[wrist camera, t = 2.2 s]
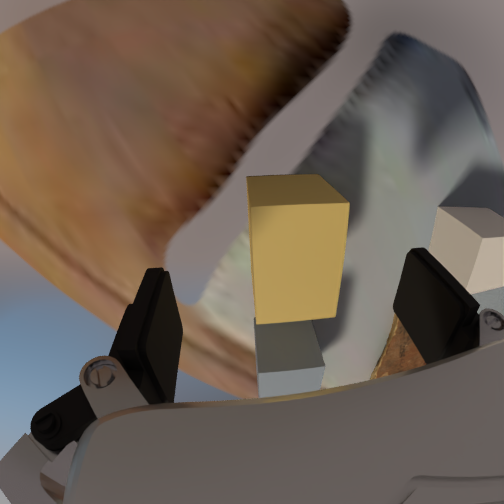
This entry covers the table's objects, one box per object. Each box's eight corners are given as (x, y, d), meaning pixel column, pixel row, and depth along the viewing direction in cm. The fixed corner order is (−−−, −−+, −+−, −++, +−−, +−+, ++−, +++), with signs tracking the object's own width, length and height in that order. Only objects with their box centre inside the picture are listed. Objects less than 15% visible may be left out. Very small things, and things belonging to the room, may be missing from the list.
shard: (396, 290, 20) (406, 304, 19) (462, 283, 21) (472, 294, 19) (364, 376, 26) (369, 389, 24) (423, 363, 26) (429, 375, 24)
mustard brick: (246, 176, 15) (250, 206, 11) (317, 173, 15) (349, 203, 11) (251, 270, 18) (256, 324, 14) (313, 266, 18) (335, 317, 14)
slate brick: (253, 317, 20) (258, 373, 16) (309, 313, 20) (325, 366, 16) (256, 369, 23) (260, 419, 19) (303, 365, 23) (313, 413, 19)
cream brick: (487, 207, 17) (528, 235, 12) (476, 251, 19) (511, 283, 14) (437, 206, 17) (482, 238, 12) (426, 256, 19) (463, 295, 14)
